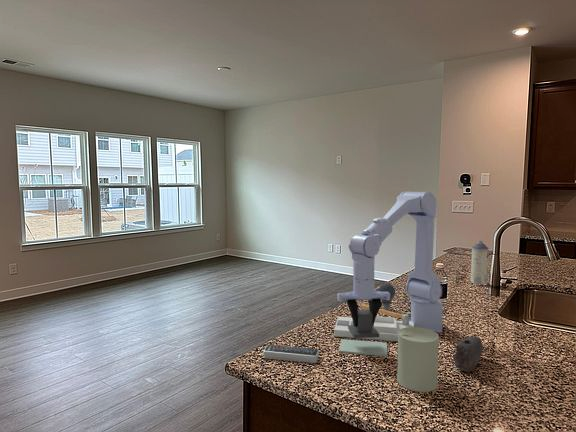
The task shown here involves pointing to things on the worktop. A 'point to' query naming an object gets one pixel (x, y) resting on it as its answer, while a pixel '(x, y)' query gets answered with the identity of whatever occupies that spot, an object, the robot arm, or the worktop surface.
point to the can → (418, 359)
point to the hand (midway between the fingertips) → (363, 325)
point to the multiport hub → (291, 353)
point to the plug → (363, 326)
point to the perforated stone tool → (468, 353)
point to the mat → (363, 347)
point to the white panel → (383, 325)
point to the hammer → (391, 314)
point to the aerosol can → (479, 264)
